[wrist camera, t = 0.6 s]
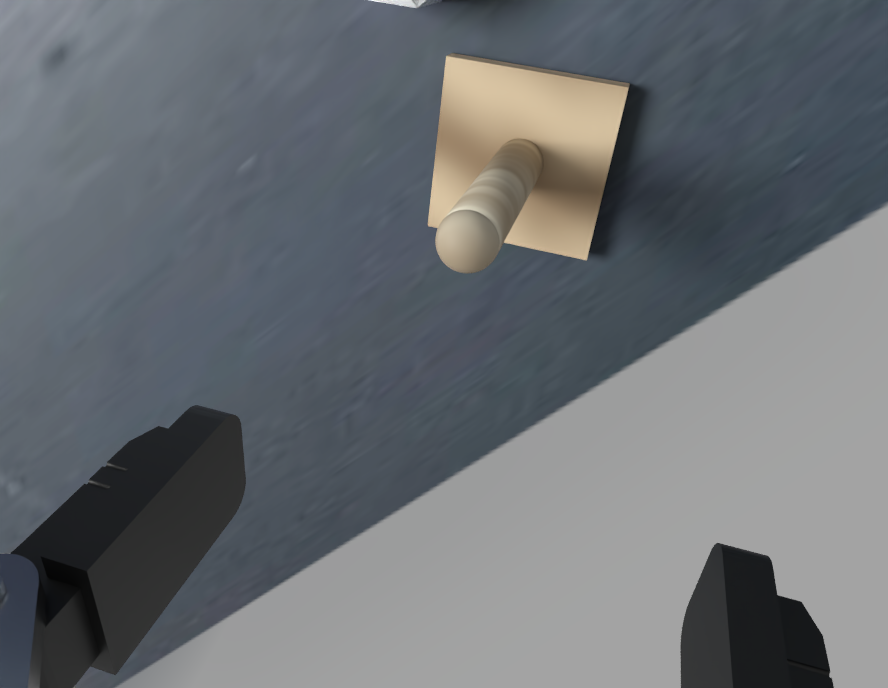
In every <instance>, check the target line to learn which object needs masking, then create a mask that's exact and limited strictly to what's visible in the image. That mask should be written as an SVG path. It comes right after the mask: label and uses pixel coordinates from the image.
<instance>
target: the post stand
mask: <svg viewBox="0 0 888 688" xmlns="http://www.w3.org/2000/svg"><path fill="white" fill-rule="evenodd" d="M629 85H630V83H624V82H618V81H612V80H606V79H601V78H595V77H589V76H583V75H577V74H572V73H566V72H560V71H554V70H548V69H542V68H537V67H531V66H525V65H519V64H513V63H507V62H502V61H496V60H490V59H484V58H478V57H472V56H467V55H461V54H455V53H451V54H449V55H447V56H446V64H445V73H444V82H443V91H442V100H441V109H440V118H439V128H438V137H437V146H436V155H435V164H434V173H433V182H432V191H431V200H430V210H429V219H428V226H430V227H435V228H438V230H437V233H436V249H437V252H438V254H439V256H440V258H441V260H442V261H443V262H444V263H445V264H446V265H447V266H448V267H449V268H451V269H453V270H455V271H457V272H461V273H475V272H478V271H481V270H483V269H485V268H486V267H487V266H489V265H490V264H491V263H492V262H493V260H494V259H495V257H496V256H497V254H498V252H499V250H500V248H501V247H502V245H503V243H509V244H513V245H518V246H523V247H527V248H532V249H537V250H541V251H546V252H550V253H555V254H560V255H564V256H569V257H573V258H578V259H583V260H587V257H588V253H589V249H590V245H591V241H592V236H593V232H594V228H595V224H596V220H597V216H598V212H599V208H600V204H601V200H602V196H603V191H604V187H605V183H606V179H607V175H608V171H609V167H610V163H611V159H612V155H613V151H614V146H615V142H616V138H617V134H618V130H619V126H620V122H621V118H622V114H623V110H624V105H625V101H626V97H627V93H628V89H629Z"/></svg>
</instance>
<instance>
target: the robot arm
mask: <svg viewBox="0 0 888 688" xmlns="http://www.w3.org/2000/svg"><path fill="white" fill-rule="evenodd" d="M245 484H246V477H245V465H244V453H243V441H242V430H241V422H240V419H239V418H238V417H237V416H236V415H233V414H229V413H225V412H221V411H217V410H213V409H210V408H206V407H202V406H198V405H195V406H192V407H190V408H189V409H188V410H187V411H186V412H185V413H184V414H182V415H181V416H180V417H179V418H178V419H177V420H176V421H175V422H174V423H173V424H172V425H171V426H170V427H169V428H168V429H167V428H164V427H160V426H158V427H156V428H154V429H152V430H150V431H148V432H146V433H144V434H143V435H141V436H139V437H137V438H135V439H133V440H131V441H129V442H128V443H127V444H126V445H125V446H124V447H123V448H122V449H121V450H120V451H118V452H117V453H116V454H115V455H114V456H113V457H112V458H111V459H110V460H109V461H108V462H107V465H106V467H102V468H101V469H99V470H98V471H97V472H96V473H95V474H94V475H93V476H92V477H91V478H90V479H89V482H88V484H84V485H83V486H82V487H80V488H79V489H78V490H77V491H76V492H75V493H74V494H73V495H72V496H71V497H70V498H69V499H68V500H67V501H66V502H65V503H64V504H63V505H62V506H60V507H59V508H58V509H57V510H56V511H55V512H54V513H53V514H52V515H51V516H50V517H49V518H48V519H47V520H46V521H45V522H44V523H43V524H41V525H40V526H39V527H38V528H37V529H36V530H35V531H34V532H33V533H32V534H31V535H30V536H29V537H28V538H27V539H26V540H25V541H24V542H23V543H21V544H20V545H19V546H18V547H17V548H16V549H15V550H14V551H12V552H11V553H10V554H8V553H0V688H76V686H75V685H76V684H77V682H78V681H79V680H80V678H81V677H82V676H83V675H84V673H85V672H86V671H87V670H88V668H89V667H90V666H91V667H94V668H96V669H99V670H102V671H105V672H108V673H111V674H114V675H116V674H117V673H118V671H119V670H120V669H121V667H122V666H123V664H124V663H125V662H126V660H127V659H128V658H129V656H130V655H131V654H132V652H133V651H134V650H135V648H136V647H137V646H138V644H139V643H140V642H141V640H142V639H143V638H144V636H145V635H146V634H147V632H148V631H149V630H150V628H151V627H152V625H153V624H154V623H155V621H156V620H157V619H158V617H159V616H160V615H161V613H162V612H163V611H164V609H165V608H166V607H167V605H168V604H169V603H170V601H171V600H172V599H173V597H174V596H175V595H176V593H177V592H178V591H179V589H180V588H181V586H182V585H183V584H184V582H185V581H186V580H187V578H188V577H189V576H190V574H191V573H192V572H193V570H194V569H195V568H196V566H197V565H198V564H199V562H200V561H201V560H202V558H203V557H204V556H205V554H206V553H207V552H208V550H209V549H210V548H211V546H212V545H213V543H214V542H215V541H216V539H217V538H218V537H219V535H220V534H221V533H222V531H223V530H224V529H225V527H226V526H227V525H228V523H229V522H230V521H231V519H232V518H233V517H234V515H235V514H236V512H237V510H238V508H239V506H240V504H241V501H242V498H243V495H244V491H245ZM829 673H830V668H829V663H828V658H827V654H826V649H825V644H824V639H823V636H822V634H821V632H820V631H819V629H818V628H817V626H816V624H815V623H814V621H813V620H812V618H811V616H810V615H809V613H808V612H807V610H806V609H805V607H804V605H803V604H802V602H800V601H796V600H792V599H789V598H785V597H782V596H778V595H777V591H776V584H775V579H774V571H773V566H772V562H771V560H770V558H769V557H768V556H766V555H762V554H758V553H754V552H750V551H747V550H743V549H739V548H735V547H731V546H728V545H724V544H720V543H717V544H715V545H714V547H713V548H712V550H711V552H710V555H709V557H708V559H707V562H706V564H705V567H704V569H703V571H702V573H701V576H700V578H699V581H698V583H697V585H696V588H695V590H694V592H693V595H692V597H691V599H690V602H689V604H688V607H687V610H686V614H685V617H684V622H683V627H682V635H681V688H834V687H833V682H832V679H831V678H830V677H829Z"/></svg>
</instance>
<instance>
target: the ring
mask: <svg viewBox="0 0 888 688" xmlns="http://www.w3.org/2000/svg"><path fill="white" fill-rule="evenodd" d="M370 1H376V2H382V3H389V4H395V5H401V6H407V7H413V8H420V7H424V6H427V5H431V4H435V3H438V2H441V1H442V0H370Z"/></svg>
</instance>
